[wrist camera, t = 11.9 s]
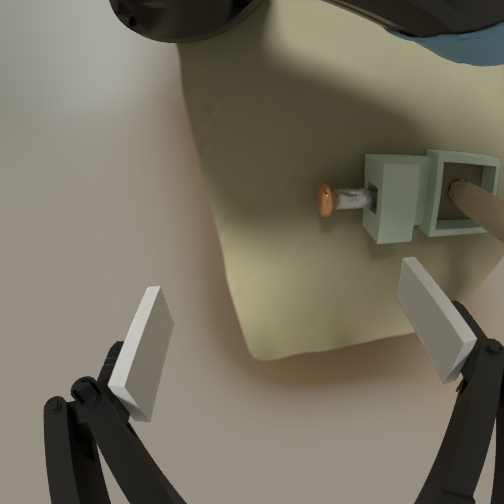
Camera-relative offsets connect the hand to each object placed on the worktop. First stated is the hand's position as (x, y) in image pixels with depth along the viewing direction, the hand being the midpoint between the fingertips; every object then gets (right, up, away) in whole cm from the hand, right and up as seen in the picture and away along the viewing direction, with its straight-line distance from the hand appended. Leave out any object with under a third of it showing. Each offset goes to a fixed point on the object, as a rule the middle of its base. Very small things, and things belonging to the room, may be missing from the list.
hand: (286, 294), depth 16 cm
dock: (+19, +9, +14) cm, 26 cm away
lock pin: (+8, +8, +14) cm, 18 cm away
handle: (+23, +10, +14) cm, 29 cm away
